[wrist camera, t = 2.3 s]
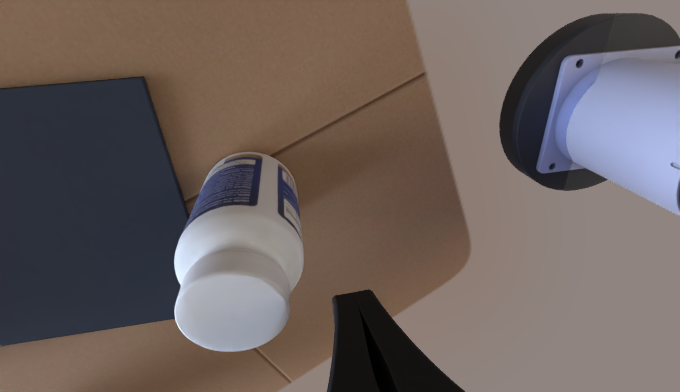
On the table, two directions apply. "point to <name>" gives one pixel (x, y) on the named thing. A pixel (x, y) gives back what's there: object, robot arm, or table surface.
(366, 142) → the table surface
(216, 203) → the pill bottle
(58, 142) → the mat
